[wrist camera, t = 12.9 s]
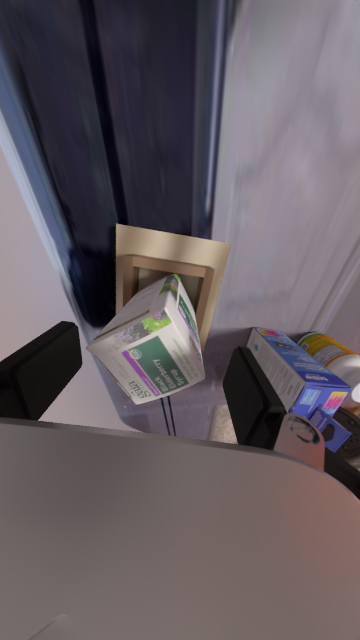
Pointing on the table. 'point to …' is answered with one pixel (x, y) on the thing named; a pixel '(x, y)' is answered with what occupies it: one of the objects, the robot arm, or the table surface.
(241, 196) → the table surface
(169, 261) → the desk stand
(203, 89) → the table surface
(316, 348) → the supplement bottle
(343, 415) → the alarm clock
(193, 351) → the syrup box
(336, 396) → the ink cartridge box
